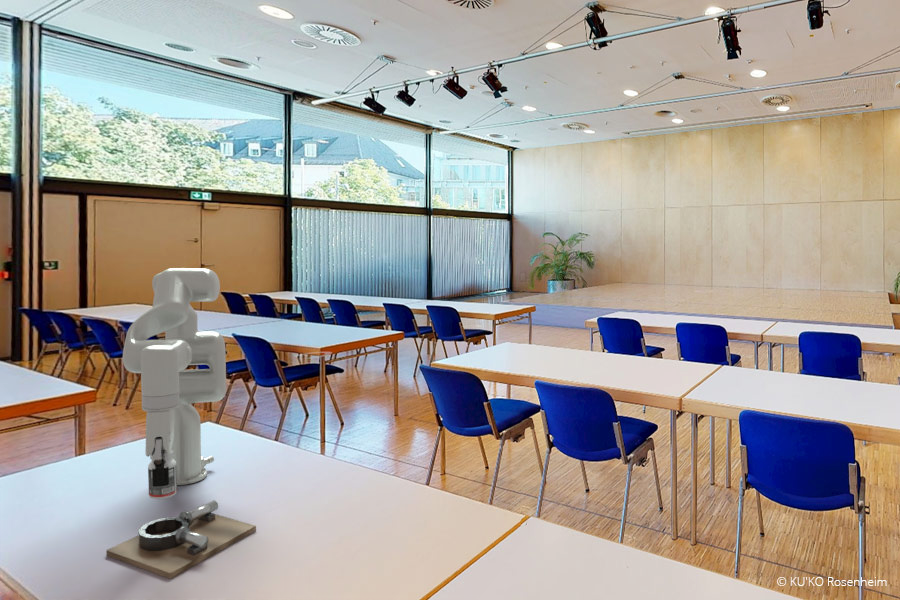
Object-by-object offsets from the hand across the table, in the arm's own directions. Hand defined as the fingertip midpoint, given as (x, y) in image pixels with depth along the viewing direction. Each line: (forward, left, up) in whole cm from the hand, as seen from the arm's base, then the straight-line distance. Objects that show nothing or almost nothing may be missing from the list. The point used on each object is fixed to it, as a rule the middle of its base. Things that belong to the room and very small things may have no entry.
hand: (162, 479), depth 136 cm
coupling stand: (-3, +3, -15) cm, 16 cm away
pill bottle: (0, 0, -4) cm, 4 cm away
